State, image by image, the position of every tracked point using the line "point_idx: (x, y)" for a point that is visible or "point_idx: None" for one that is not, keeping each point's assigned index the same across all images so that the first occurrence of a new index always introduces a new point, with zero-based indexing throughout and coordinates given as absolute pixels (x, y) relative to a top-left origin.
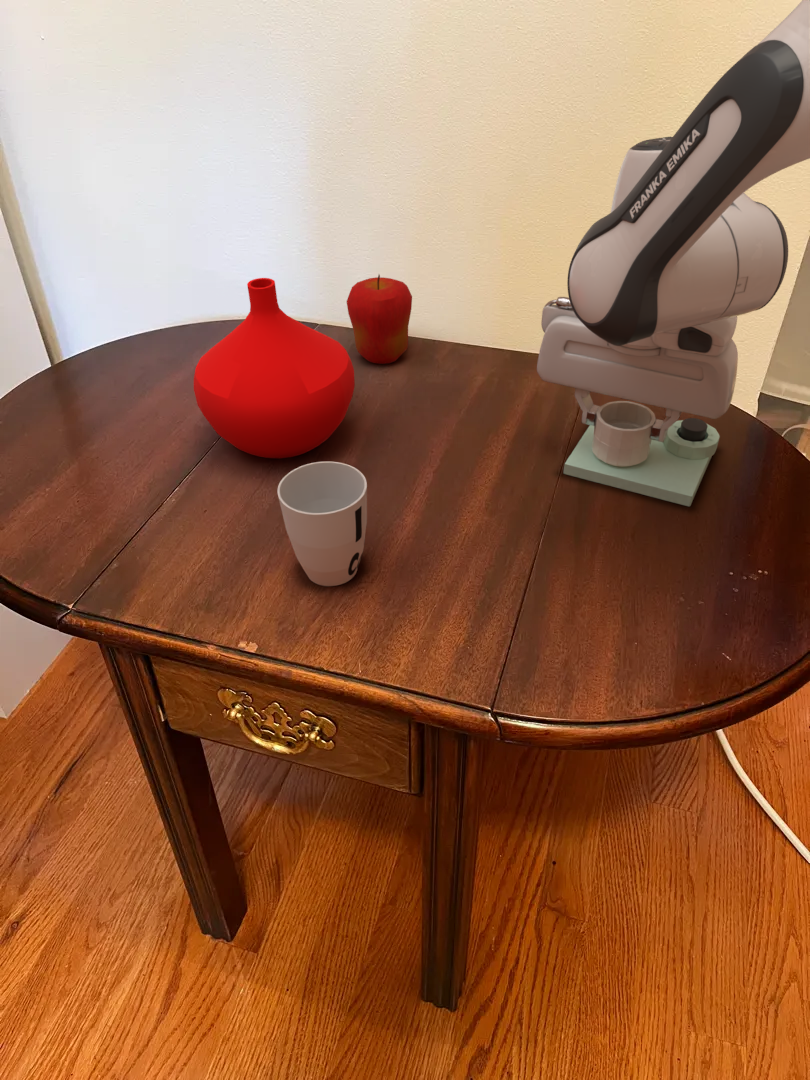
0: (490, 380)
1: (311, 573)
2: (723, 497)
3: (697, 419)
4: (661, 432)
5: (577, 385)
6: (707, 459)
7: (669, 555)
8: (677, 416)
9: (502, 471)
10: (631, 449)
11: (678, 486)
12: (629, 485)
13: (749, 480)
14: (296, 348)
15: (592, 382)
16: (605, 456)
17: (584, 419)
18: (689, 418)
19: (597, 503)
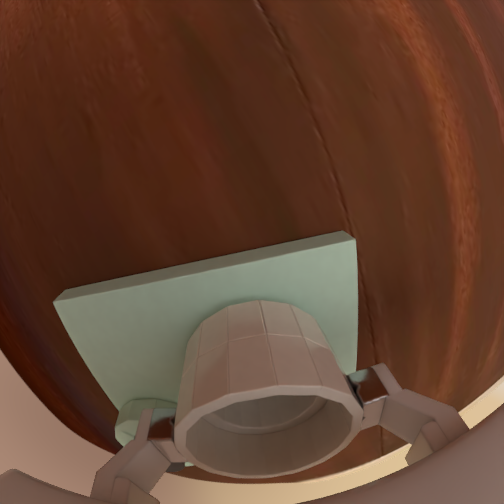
0: (483, 360)
1: None
2: (57, 343)
3: (167, 470)
4: (143, 430)
5: (480, 438)
6: (117, 408)
7: (23, 131)
8: (96, 479)
9: (440, 164)
10: (197, 355)
11: (86, 318)
12: (175, 272)
13: (71, 392)
14: None
15: (444, 490)
16: (267, 309)
17: (382, 373)
18: (179, 469)
19: (211, 171)
